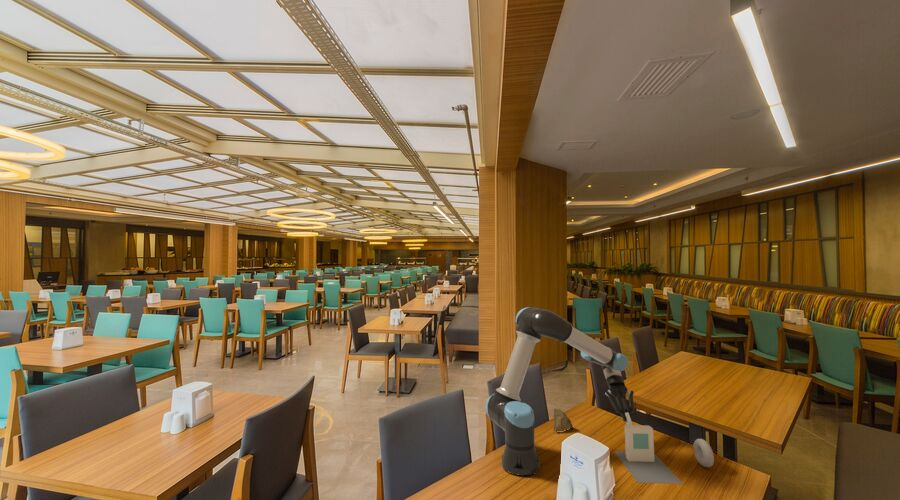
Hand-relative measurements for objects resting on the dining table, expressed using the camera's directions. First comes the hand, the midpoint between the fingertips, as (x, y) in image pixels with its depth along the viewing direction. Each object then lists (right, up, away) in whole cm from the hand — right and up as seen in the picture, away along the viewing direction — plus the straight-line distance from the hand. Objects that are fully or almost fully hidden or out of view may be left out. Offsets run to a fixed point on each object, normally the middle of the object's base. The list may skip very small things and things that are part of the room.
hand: (631, 428), depth 154 cm
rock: (-23, -11, +19) cm, 32 cm away
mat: (-2, -8, -14) cm, 17 cm away
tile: (-1, -8, -9) cm, 12 cm away
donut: (+22, -8, -13) cm, 27 cm away
